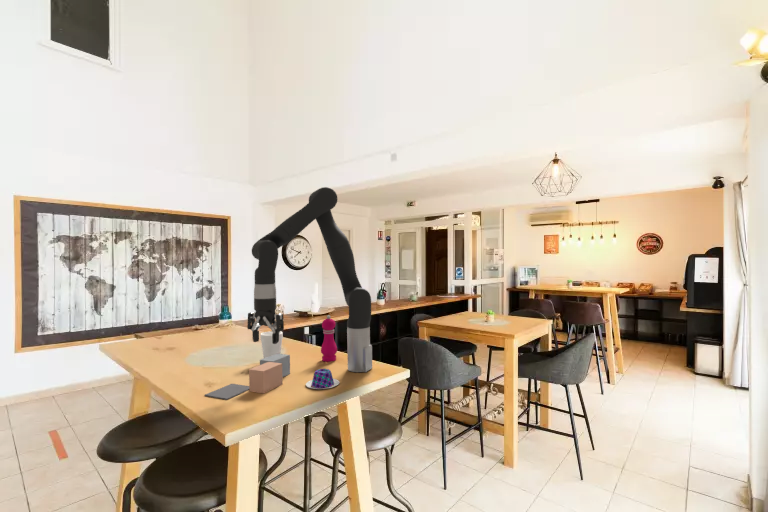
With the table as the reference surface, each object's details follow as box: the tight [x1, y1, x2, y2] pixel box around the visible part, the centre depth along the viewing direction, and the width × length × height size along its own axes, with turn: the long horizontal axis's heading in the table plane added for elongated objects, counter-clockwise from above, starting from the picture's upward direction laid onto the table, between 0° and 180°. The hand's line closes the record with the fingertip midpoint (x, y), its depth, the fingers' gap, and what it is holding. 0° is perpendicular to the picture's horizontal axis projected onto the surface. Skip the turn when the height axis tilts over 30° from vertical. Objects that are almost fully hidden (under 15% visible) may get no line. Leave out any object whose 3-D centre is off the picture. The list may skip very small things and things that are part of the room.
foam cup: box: [259, 330, 284, 359], centre depth 165 cm, size 10×9×13 cm
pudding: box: [305, 368, 340, 390], centre depth 136 cm, size 12×12×5 cm
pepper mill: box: [320, 314, 338, 363], centre depth 169 cm, size 7×7×20 cm
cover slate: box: [259, 353, 291, 378], centre depth 146 cm, size 6×10×8 cm, turn 157°
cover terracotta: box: [248, 362, 283, 394], centre depth 134 cm, size 6×10×8 cm, turn 157°
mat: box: [204, 383, 249, 401], centre depth 130 cm, size 10×12×1 cm
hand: (265, 342), depth 134 cm, fingers open, 8 cm apart
